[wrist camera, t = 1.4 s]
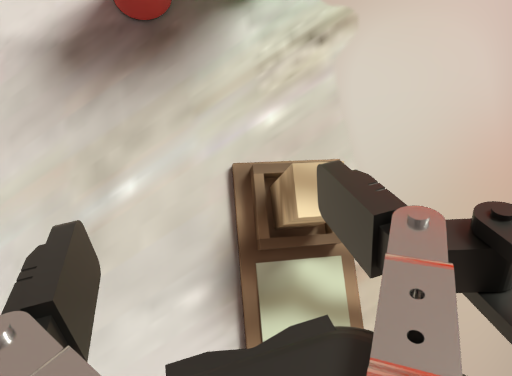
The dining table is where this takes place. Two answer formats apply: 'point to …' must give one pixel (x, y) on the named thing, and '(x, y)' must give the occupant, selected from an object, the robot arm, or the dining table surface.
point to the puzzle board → (287, 262)
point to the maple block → (296, 197)
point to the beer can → (143, 8)
